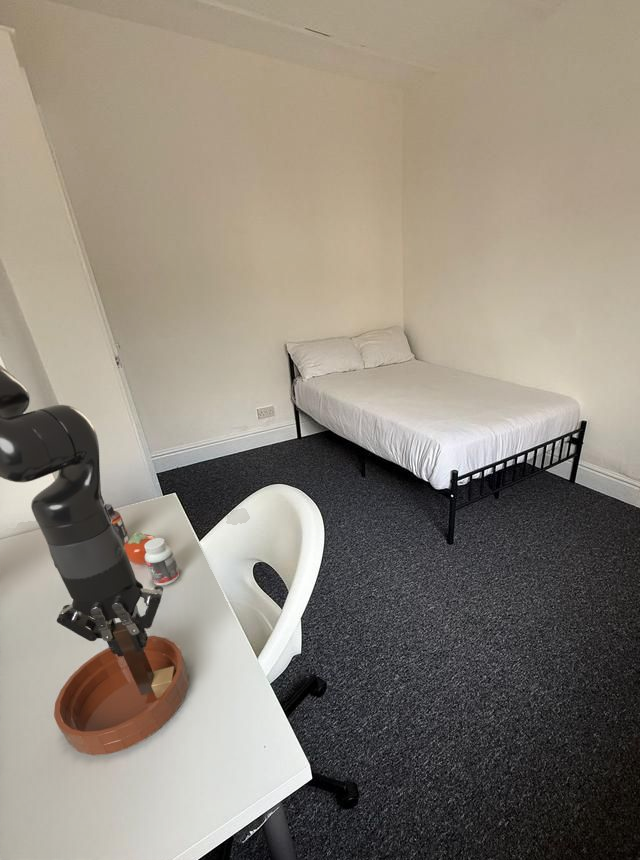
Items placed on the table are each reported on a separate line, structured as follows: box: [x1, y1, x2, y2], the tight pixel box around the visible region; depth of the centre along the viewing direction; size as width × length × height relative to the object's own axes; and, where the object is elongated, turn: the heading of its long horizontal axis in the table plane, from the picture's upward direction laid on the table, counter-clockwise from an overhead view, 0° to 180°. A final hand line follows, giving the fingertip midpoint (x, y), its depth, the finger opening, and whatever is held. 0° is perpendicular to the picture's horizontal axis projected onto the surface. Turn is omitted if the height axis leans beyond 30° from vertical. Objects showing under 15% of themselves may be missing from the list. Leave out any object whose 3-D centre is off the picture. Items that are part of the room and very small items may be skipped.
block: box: [151, 666, 176, 698], centre depth 67 cm, size 3×3×3 cm
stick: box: [113, 621, 154, 695], centre depth 64 cm, size 2×2×14 cm
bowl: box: [53, 635, 190, 756], centre depth 66 cm, size 17×17×5 cm
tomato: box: [123, 532, 156, 566], centre depth 98 cm, size 7×7×8 cm
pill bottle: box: [144, 537, 180, 586], centre depth 91 cm, size 5×5×10 cm
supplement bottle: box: [105, 503, 130, 545], centre depth 103 cm, size 6×6×11 cm
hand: (132, 649), depth 63 cm, fingers closed on stick, 2 cm apart
